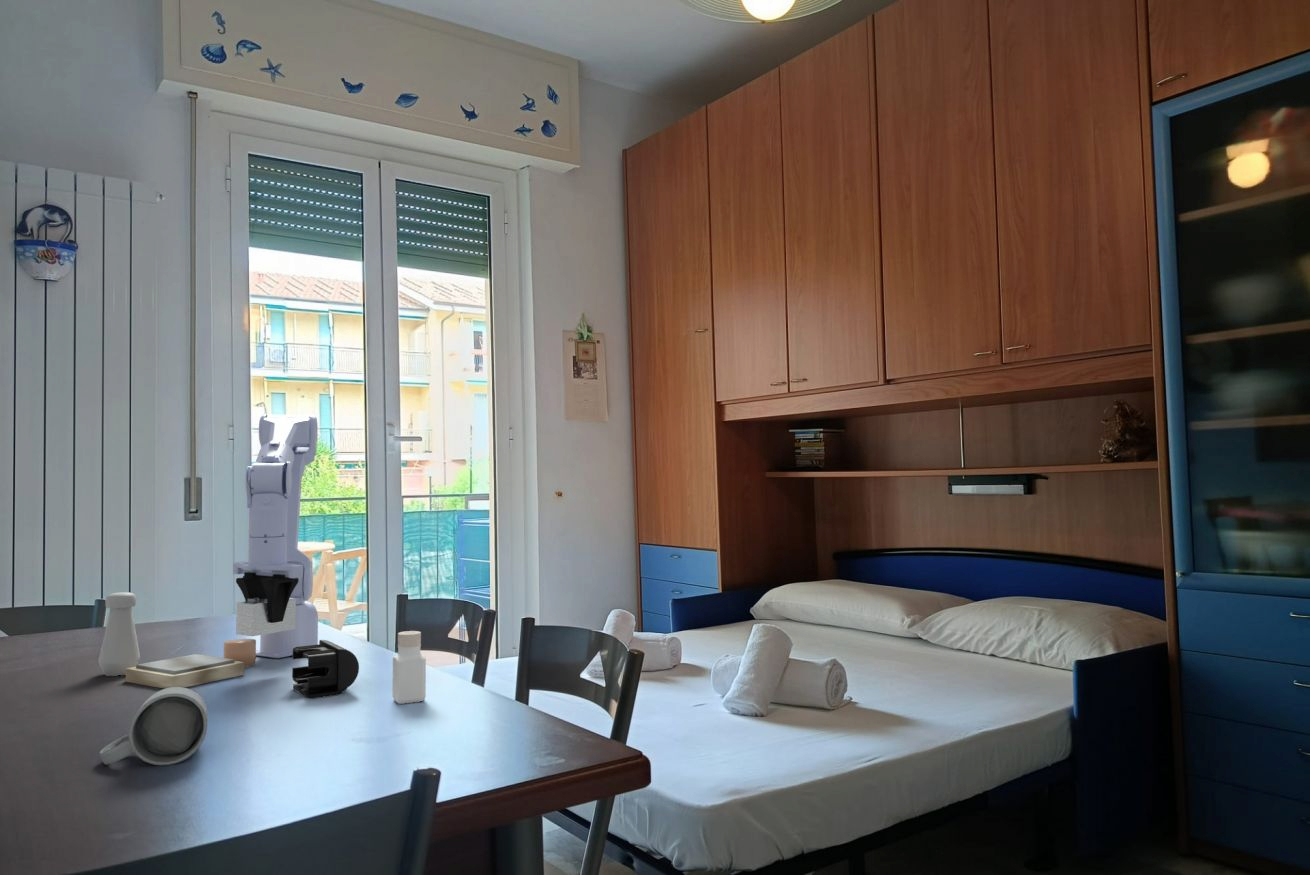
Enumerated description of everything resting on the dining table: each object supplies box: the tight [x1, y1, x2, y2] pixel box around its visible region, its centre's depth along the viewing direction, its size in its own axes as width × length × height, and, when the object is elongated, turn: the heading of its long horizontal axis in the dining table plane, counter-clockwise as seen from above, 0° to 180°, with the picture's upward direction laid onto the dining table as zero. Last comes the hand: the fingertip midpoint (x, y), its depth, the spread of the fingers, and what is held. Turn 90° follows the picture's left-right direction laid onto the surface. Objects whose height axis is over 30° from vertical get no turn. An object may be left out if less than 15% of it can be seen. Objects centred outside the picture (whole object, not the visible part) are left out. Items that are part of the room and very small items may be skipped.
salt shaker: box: [97, 591, 141, 677], centre depth 147 cm, size 6×6×13 cm
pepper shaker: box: [392, 630, 427, 705], centre depth 128 cm, size 4×4×10 cm
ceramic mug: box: [99, 687, 209, 766], centre depth 102 cm, size 11×8×8 cm
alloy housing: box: [235, 598, 296, 637], centre depth 146 cm, size 8×4×6 cm, turn 151°
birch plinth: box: [125, 653, 245, 689], centre depth 143 cm, size 12×12×2 cm
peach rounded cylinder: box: [222, 638, 257, 668], centre depth 154 cm, size 5×5×4 cm
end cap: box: [291, 639, 360, 700], centre depth 135 cm, size 10×7×7 cm
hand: (266, 621), depth 146 cm, fingers closed on alloy housing, 4 cm apart
